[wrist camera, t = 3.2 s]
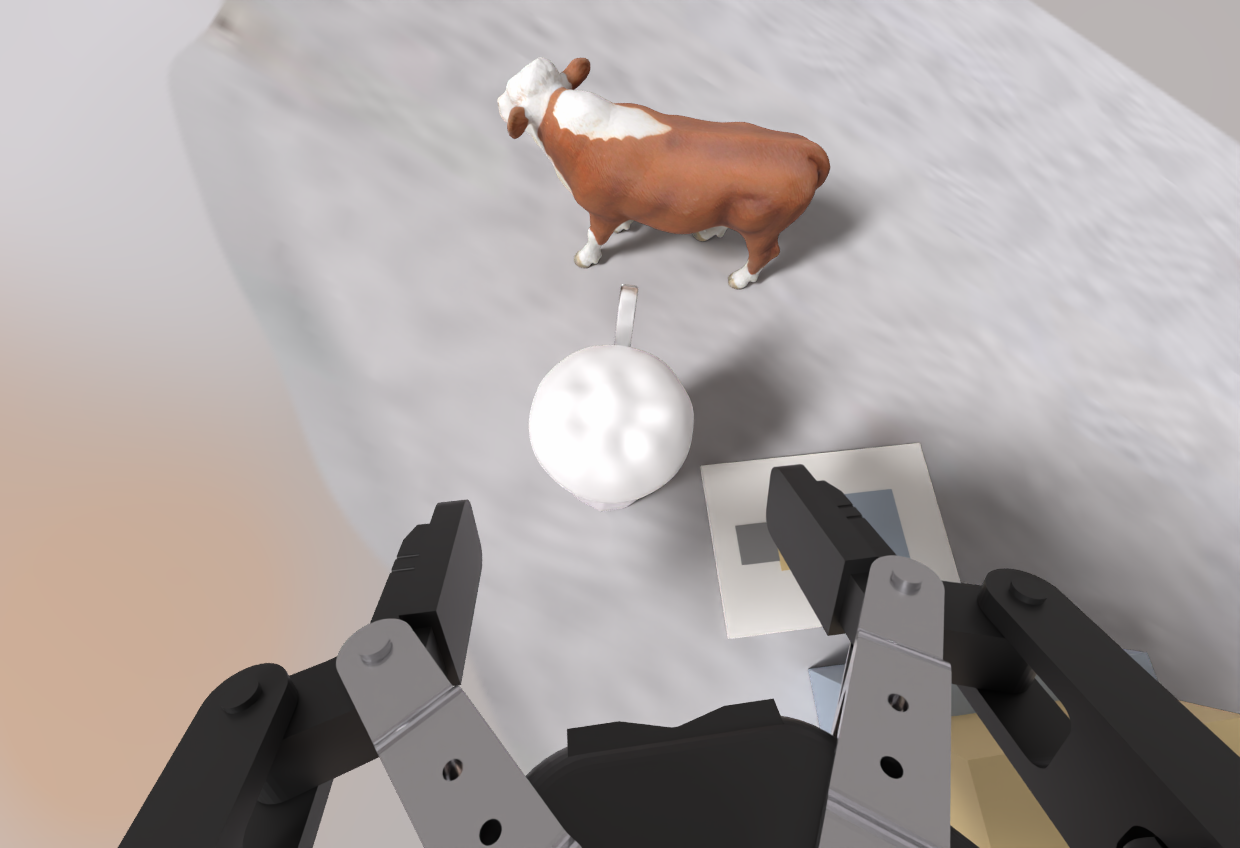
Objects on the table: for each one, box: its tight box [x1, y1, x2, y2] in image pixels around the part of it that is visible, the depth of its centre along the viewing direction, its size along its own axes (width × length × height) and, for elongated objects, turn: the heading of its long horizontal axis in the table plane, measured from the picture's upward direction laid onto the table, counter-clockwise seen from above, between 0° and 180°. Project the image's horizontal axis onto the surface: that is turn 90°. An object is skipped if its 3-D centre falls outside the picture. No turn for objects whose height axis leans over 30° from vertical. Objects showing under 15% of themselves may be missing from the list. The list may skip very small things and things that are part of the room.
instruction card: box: [700, 443, 961, 639], centre depth 21 cm, size 10×7×1 cm
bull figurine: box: [497, 57, 830, 289], centre depth 21 cm, size 4×13×8 cm, turn 78°
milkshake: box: [529, 284, 694, 512], centre depth 17 cm, size 4×5×10 cm
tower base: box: [808, 649, 1240, 848], centre depth 15 cm, size 10×10×7 cm
